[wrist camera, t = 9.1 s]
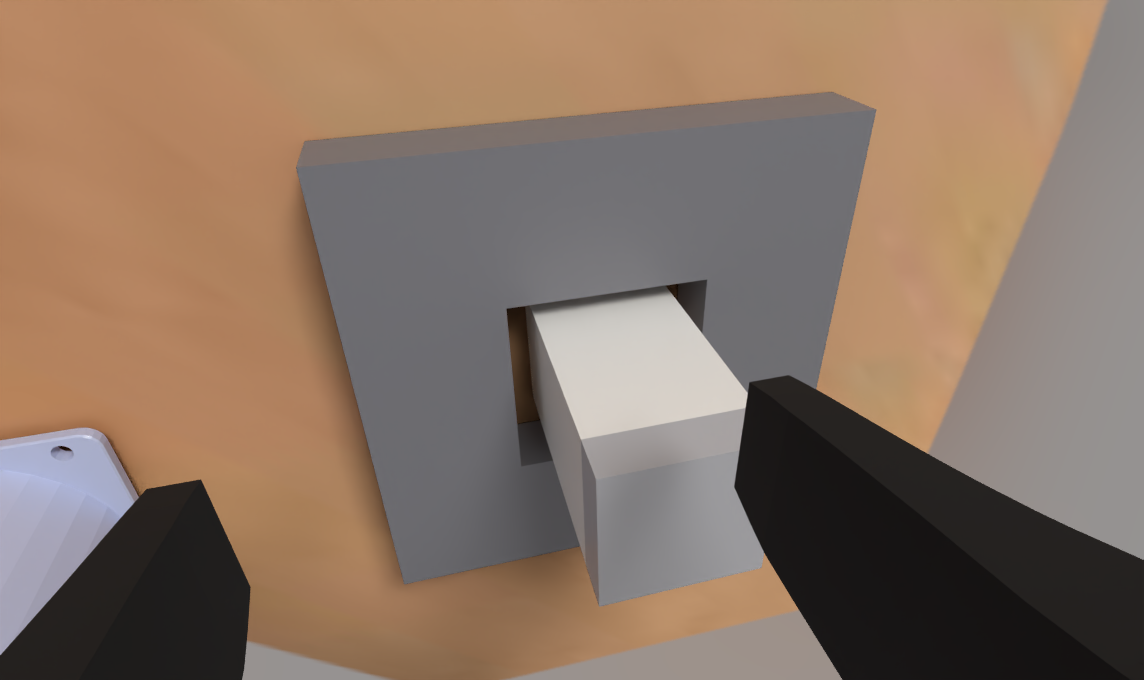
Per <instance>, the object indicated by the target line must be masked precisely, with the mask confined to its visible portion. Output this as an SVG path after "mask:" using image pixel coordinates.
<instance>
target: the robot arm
mask: <svg viewBox="0 0 1144 680" xmlns="http://www.w3.org/2000/svg"><path fill="white" fill-rule="evenodd" d="M58 446H65V447H68V448H70V449H71V450H72V451H65V450H62V449H60V448H59V447H58ZM734 488H735V490H736V492H737V495H738V497H739V499H740V502H741V504H742V506H743V508H744V511H745V513H746V515H747V518H748V520H749V522H750V524H751V526H752V528H753V531H754V533H755V535H756V537H757V539H758V541H759V543H760V545H761V547H762V550H763V551H764V553H765V555H766V556H767V558H768V560H769V561H770V563H771V565H772V566H773V568H774V570H775V571H776V573H777V575H778V576H779V578H780V580H781V581H782V583H783V584H784V586H785V588H786V589H787V591H788V593H789V594H790V596H791V598H792V599H793V601H794V602H795V604H796V606H797V607H798V609H799V610H800V612H801V614H802V615H803V617H804V619H805V620H806V622H807V623H808V625H809V626H810V628H811V630H812V631H813V633H814V635H815V636H816V638H817V639H818V641H819V643H820V644H821V646H822V647H823V649H824V651H825V652H826V654H827V656H828V657H829V659H830V660H831V662H832V663H833V665H834V667H835V668H836V670H837V672H838V673H839V675H840V676H841V678H842V680H1144V560H1142V559H1140V558H1138V557H1136V556H1133V555H1131V554H1129V553H1127V552H1124V551H1122V550H1120V549H1118V548H1115V547H1113V546H1111V545H1109V544H1106V543H1104V542H1102V541H1100V540H1097V539H1095V538H1093V537H1091V536H1088V535H1086V534H1084V533H1082V532H1079V531H1077V530H1075V529H1073V528H1070V527H1068V526H1066V525H1064V524H1062V523H1060V522H1058V521H1056V520H1054V519H1051V518H1049V517H1047V516H1045V515H1043V514H1041V513H1039V512H1037V511H1035V510H1033V509H1031V508H1029V507H1027V506H1025V505H1023V504H1021V503H1019V502H1017V501H1015V500H1013V499H1011V498H1009V497H1007V496H1005V495H1004V494H1001V493H1000V492H997V491H996V490H994V489H992V488H990V487H988V486H986V485H984V484H982V483H980V482H978V481H976V480H974V479H973V478H971V477H969V476H967V475H965V474H963V473H961V472H960V471H958V470H956V469H954V468H952V467H950V466H949V465H947V464H945V463H943V462H941V461H939V460H938V459H936V458H934V457H932V456H930V455H929V454H927V453H925V452H923V451H922V450H920V449H918V448H916V447H915V446H913V445H911V444H909V443H908V442H906V441H904V440H902V439H901V438H899V437H897V436H895V435H894V434H892V433H890V432H888V431H887V430H885V429H883V428H882V427H880V426H878V425H876V424H875V423H873V422H871V421H870V420H868V419H866V418H864V417H863V416H861V415H859V414H858V413H856V412H854V411H852V410H851V409H849V408H847V407H846V406H844V405H842V404H840V403H839V402H837V401H835V400H834V399H832V398H830V397H828V396H827V395H825V394H823V393H821V392H820V391H818V390H816V389H814V388H812V387H811V386H809V385H807V384H805V383H803V382H801V381H800V380H798V379H796V378H794V377H792V376H790V375H786V376H781V377H775V378H769V379H764V380H758V381H753V382H749V388H748V395H747V402H746V408H745V415H744V422H743V429H742V436H741V443H740V450H739V456H738V463H737V470H736V477H735V484H734ZM249 602H250V585H249V583H248V581H247V579H246V577H245V574H244V572H243V570H242V568H241V566H240V563H239V561H238V559H237V557H236V555H235V553H234V550H233V548H232V546H231V544H230V542H229V540H228V537H227V535H226V533H225V531H224V529H223V526H222V524H221V522H220V520H219V518H218V516H217V513H216V511H215V509H214V507H213V505H212V502H211V500H210V498H209V496H208V494H207V492H206V489H205V487H204V485H203V483H202V481H201V480H196V481H190V482H184V483H179V484H173V485H167V486H162V487H156V488H151V489H146V490H145V491H144V493H143V494H142V495H141V496H140V497H139V496H138V495H137V493H136V491H135V489H134V487H133V485H132V484H131V482H130V480H129V478H128V476H127V474H126V472H125V471H124V469H123V467H122V465H121V463H120V461H119V459H118V458H117V456H116V454H115V452H114V450H113V448H112V446H111V445H110V443H109V441H108V439H107V438H106V437H105V435H104V434H103V433H101V432H99V431H97V430H95V429H91V428H76V429H69V430H63V431H57V432H51V433H44V434H38V435H32V436H26V437H19V438H13V439H7V440H0V680H242V676H243V671H244V664H245V654H246V643H247V632H248V617H249Z"/></svg>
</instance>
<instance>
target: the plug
mask: <svg viewBox="0 0 1144 680" xmlns="http://www.w3.org/2000/svg"><path fill="white" fill-rule="evenodd" d="M525 310H526V322H527V333H528V345H529V356H530V368H531V379H532V390H533V398H534V402H535V405H536V408H537V411H538V414H539V417H540V421H541V424H542V427H543V430H544V433H545V436H546V440H547V443H548V446H549V449H550V452H551V455H552V459H553V462H554V465H555V468H556V471H557V474H558V478H559V481H560V484H561V487H562V490H563V494H564V497H565V500H566V503H567V506H568V509H569V513H570V516H571V519H572V522H573V525H574V528H575V532H576V535H577V538H578V541H579V544H580V547H581V551H582V554H583V557H584V560H585V563H586V566H587V570H588V573H589V576H590V579H591V582H592V585H593V589H594V592H595V595H596V598H597V601H598V604H599V607H600V606H604V605H608V604H612V603H616V602H621V601H625V600H629V599H633V598H637V597H642V596H646V595H650V594H654V593H658V592H663V591H667V590H671V589H675V588H679V587H684V586H688V585H692V584H696V583H700V582H704V581H709V580H713V579H717V578H721V577H725V576H730V575H734V574H738V573H742V572H746V571H751V570H755V569H759V568H761V567H762V562H763V556H764V551H763V550H762V547H761V545H760V543H759V541H758V539H757V537H756V535H755V533H754V531H753V528H752V526H751V524H750V522H749V520H748V518H747V515H746V513H745V511H744V508H743V506H742V504H741V502H740V499H739V497H738V495H737V492H736V490H735V488H734V484H735V477H736V470H737V463H738V456H739V450H740V443H741V436H742V429H743V422H744V415H745V408H746V402H747V395H748V393H747V392H746V390H745V389H744V388H743V386H742V385H741V384H740V382H739V381H738V380H737V379H736V377H735V376H734V375H733V373H732V372H731V371H730V369H729V368H728V367H727V365H726V364H725V363H724V362H723V360H722V359H721V358H720V356H719V355H718V354H717V352H716V351H715V350H714V348H713V347H712V346H711V345H710V343H709V342H708V341H707V339H706V338H705V337H704V335H703V334H702V333H701V331H700V330H699V329H698V327H697V326H696V325H695V324H694V322H693V321H692V320H691V318H690V317H689V316H688V314H687V313H686V312H685V310H684V309H683V308H682V307H681V305H680V304H679V303H678V301H677V300H676V299H675V297H674V296H673V295H672V293H671V292H670V291H669V290H668V288H667V287H666V286H659V287H652V288H645V289H638V290H631V291H624V292H617V293H611V294H604V295H597V296H590V297H583V298H576V299H569V300H562V301H556V302H549V303H542V304H535V305H528V306H525Z"/></svg>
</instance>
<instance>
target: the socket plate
mask: <svg viewBox="0 0 1144 680" xmlns="http://www.w3.org/2000/svg"><path fill="white" fill-rule="evenodd" d="M875 113H876V109H874V108H871V107H869V106H866V105H864V104H861V103H859V102H856V101H854V100H851V99H849V98H846V97H844V96H841V95H839V94H836V93H834V92H827V93H816V94H805V95H795V96H784V97H773V98H763V99H752V100H741V101H730V102H720V103H709V104H698V105H688V106H677V107H666V108H655V109H645V110H634V111H623V112H613V113H602V114H591V115H581V116H570V117H559V118H548V119H538V120H527V121H516V122H506V123H495V124H484V125H474V126H463V127H452V128H441V129H431V130H420V131H409V132H399V133H388V134H377V135H366V136H356V137H345V138H334V139H324V140H313V141H305V142H304V145H303V148H302V151H301V154H300V157H299V160H298V163H297V167H296V169H297V173H298V177H299V180H300V184H301V188H302V192H303V196H304V200H305V204H306V207H307V211H308V215H309V219H310V223H311V227H312V230H313V234H314V238H315V242H316V246H317V250H318V254H319V257H320V261H321V265H322V269H323V273H324V277H325V281H326V284H327V288H328V292H329V296H330V300H331V304H332V308H333V311H334V315H335V319H336V323H337V327H338V331H339V335H340V338H341V342H342V346H343V350H344V354H345V358H346V362H347V365H348V369H349V373H350V377H351V381H352V385H353V388H354V392H355V396H356V400H357V404H358V408H359V412H360V415H361V419H362V423H363V427H364V431H365V435H366V439H367V442H368V446H369V450H370V454H371V458H372V462H373V466H374V469H375V473H376V477H377V481H378V485H379V489H380V493H381V496H382V500H383V504H384V508H385V512H386V516H387V520H388V523H389V527H390V531H391V535H392V539H393V543H394V546H395V550H396V554H397V558H398V562H399V566H400V570H401V573H402V577H403V581H404V584H408V583H412V582H417V581H422V580H426V579H431V578H436V577H440V576H445V575H450V574H454V573H459V572H463V571H468V570H473V569H477V568H482V567H487V566H491V565H496V564H500V563H505V562H510V561H514V560H519V559H524V558H528V557H533V556H538V555H542V554H547V553H551V552H556V551H561V550H565V549H570V548H575V547H579V546H580V544H579V541H578V538H577V535H576V532H575V528H574V525H573V522H572V519H571V516H570V513H569V509H568V506H567V503H566V500H565V497H564V494H563V490H562V487H561V484H560V481H559V478H558V474H557V471H556V468H555V465H554V462H553V459H552V455H551V452H550V449H549V446H548V443H547V440H546V436H545V433H544V430H543V427H542V424H541V421H540V420H538V421H533V422H527V423H522V424H517V416H516V406H515V395H514V385H513V374H512V364H511V353H510V343H509V332H508V322H507V311H506V309H507V308H514V307H521V306H528V305H535V304H542V303H549V302H556V301H562V300H569V299H576V298H583V297H590V296H597V295H604V294H611V293H617V292H624V291H631V290H638V289H645V288H652V287H659V286H666V285H673V284H678V294H677V301H678V303H679V304H680V305H681V307H682V308H683V309H684V310H685V312H686V313H687V314H688V316H689V317H690V318H691V320H692V321H693V322H694V324H695V325H696V326H697V327H698V329H699V330H700V331H701V333H702V334H703V335H704V337H705V338H706V339H707V341H708V342H709V343H710V345H711V346H712V347H713V348H714V350H715V351H716V352H717V354H718V355H719V356H720V358H721V359H722V360H723V362H724V363H725V364H726V365H727V367H728V368H729V369H730V371H731V372H732V373H733V375H734V376H735V377H736V379H737V380H738V381H739V382H740V384H741V385H742V386H743V388H744V389H745V390H746V392H747V393H748V388H749V382H753V381H758V380H764V379H769V378H775V377H781V376H786V375H790V376H792V377H794V378H796V379H798V380H800V381H801V382H803V383H805V384H807V385H809V386H811V387H812V388H814V389H816V387H817V382H818V378H819V373H820V369H821V364H822V359H823V355H824V350H825V345H826V341H827V336H828V331H829V327H830V322H831V317H832V313H833V308H834V304H835V299H836V294H837V290H838V285H839V280H840V276H841V271H842V266H843V262H844V257H845V253H846V248H847V243H848V239H849V234H850V229H851V225H852V220H853V215H854V211H855V206H856V201H857V197H858V192H859V188H860V183H861V178H862V174H863V169H864V164H865V160H866V155H867V150H868V146H869V141H870V136H871V132H872V127H873V123H874V118H875Z"/></svg>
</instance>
